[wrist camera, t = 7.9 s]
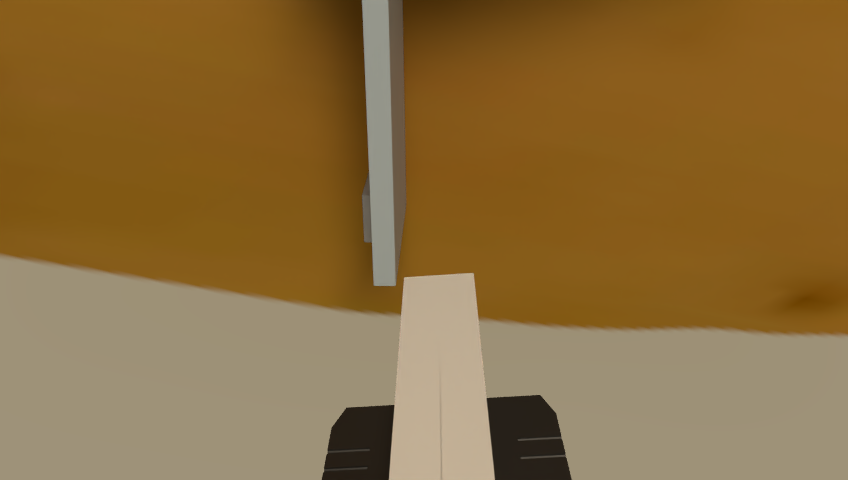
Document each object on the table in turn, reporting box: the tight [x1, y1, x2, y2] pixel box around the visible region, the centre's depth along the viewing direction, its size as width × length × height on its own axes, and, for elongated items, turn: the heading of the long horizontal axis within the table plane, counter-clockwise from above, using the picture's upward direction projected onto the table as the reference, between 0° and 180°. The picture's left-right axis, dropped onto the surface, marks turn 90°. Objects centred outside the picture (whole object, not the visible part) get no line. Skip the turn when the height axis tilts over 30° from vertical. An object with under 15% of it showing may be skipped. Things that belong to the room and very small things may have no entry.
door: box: [362, 0, 406, 286], centre depth 27 cm, size 13×2×8 cm, turn 0°
